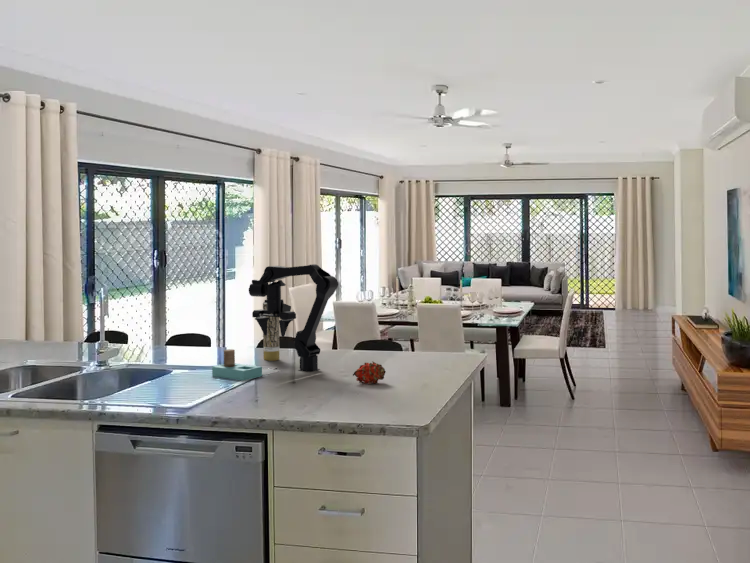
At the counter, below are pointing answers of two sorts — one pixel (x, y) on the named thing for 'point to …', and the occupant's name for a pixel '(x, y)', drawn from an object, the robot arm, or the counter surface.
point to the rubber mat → (268, 371)
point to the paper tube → (271, 338)
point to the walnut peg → (229, 358)
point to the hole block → (237, 371)
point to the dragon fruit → (370, 373)
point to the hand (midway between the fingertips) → (274, 335)
